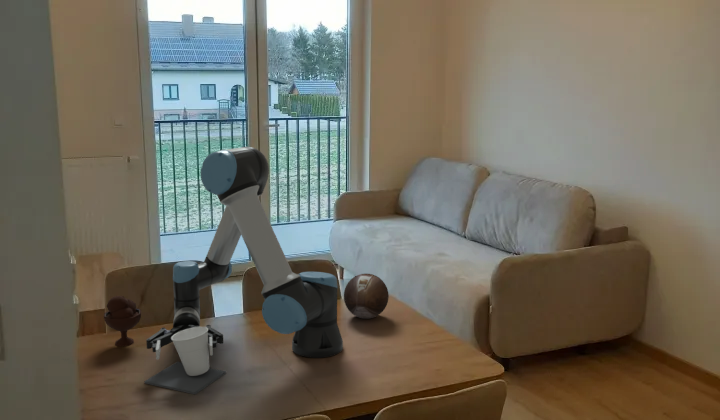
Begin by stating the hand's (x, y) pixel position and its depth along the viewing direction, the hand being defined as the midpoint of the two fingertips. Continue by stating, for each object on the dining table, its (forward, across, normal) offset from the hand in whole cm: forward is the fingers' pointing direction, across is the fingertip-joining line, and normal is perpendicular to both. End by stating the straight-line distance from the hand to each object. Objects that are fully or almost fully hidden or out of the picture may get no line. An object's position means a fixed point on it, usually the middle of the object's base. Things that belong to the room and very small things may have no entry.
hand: (184, 352), depth 181 cm
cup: (-4, -3, -8) cm, 9 cm away
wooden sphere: (-41, -58, -9) cm, 71 cm away
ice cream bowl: (-32, +19, -9) cm, 38 cm away
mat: (-3, 0, -9) cm, 9 cm away
